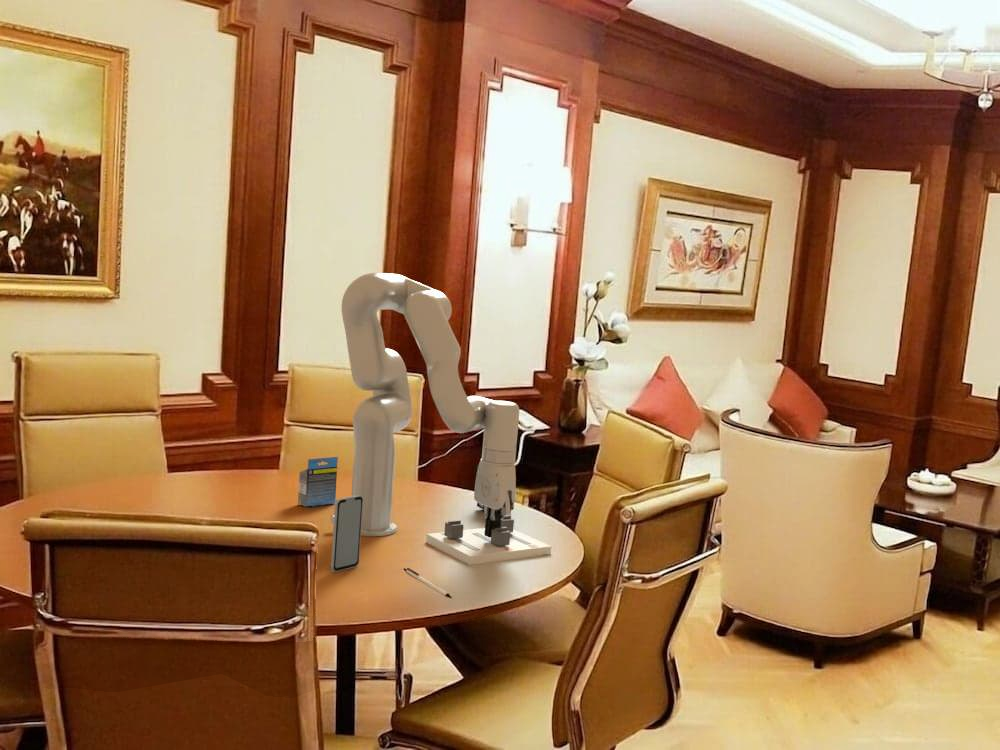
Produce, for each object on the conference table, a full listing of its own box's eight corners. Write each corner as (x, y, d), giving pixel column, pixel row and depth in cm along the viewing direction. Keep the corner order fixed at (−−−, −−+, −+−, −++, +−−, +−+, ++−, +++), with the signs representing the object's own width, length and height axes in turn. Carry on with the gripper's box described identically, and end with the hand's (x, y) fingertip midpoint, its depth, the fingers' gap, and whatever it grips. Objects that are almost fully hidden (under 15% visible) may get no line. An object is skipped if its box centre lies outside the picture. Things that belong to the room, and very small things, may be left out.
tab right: (502, 533, 236) (503, 518, 235) (495, 529, 238) (496, 514, 238) (512, 532, 238) (514, 517, 237) (505, 528, 240) (506, 513, 240)
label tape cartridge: (327, 500, 263) (330, 453, 261) (335, 504, 260) (338, 456, 258) (297, 504, 257) (300, 456, 255) (305, 507, 254) (308, 459, 253)
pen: (406, 571, 211) (406, 565, 211) (453, 600, 195) (454, 594, 195) (402, 571, 210) (402, 566, 210) (449, 600, 195) (450, 595, 195)
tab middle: (498, 546, 225) (499, 530, 225) (490, 542, 227) (492, 526, 227) (509, 544, 227) (510, 529, 226) (501, 541, 229) (502, 525, 229)
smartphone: (332, 572, 205) (337, 500, 203) (329, 571, 205) (333, 499, 204) (358, 566, 211) (363, 495, 209) (355, 564, 211) (360, 494, 210)
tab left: (451, 538, 228) (452, 523, 227) (444, 535, 230) (445, 519, 230) (462, 537, 230) (463, 522, 229) (455, 534, 232) (456, 518, 232)
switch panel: (469, 565, 217) (470, 555, 217) (426, 542, 232) (426, 533, 232) (550, 554, 230) (551, 545, 230) (504, 533, 245) (505, 525, 244)
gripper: (466, 450, 232) (460, 529, 234) (504, 464, 220) (497, 546, 222) (493, 449, 236) (487, 526, 238) (532, 462, 224) (525, 543, 226)
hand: (492, 536), depth 230 cm, fingers closed
